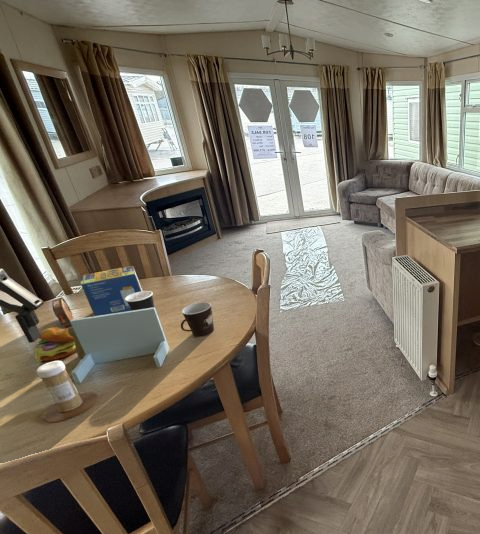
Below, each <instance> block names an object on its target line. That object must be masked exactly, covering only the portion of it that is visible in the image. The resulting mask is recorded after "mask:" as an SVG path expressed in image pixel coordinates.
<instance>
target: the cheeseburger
mask: <svg viewBox="0 0 480 534" xmlns="http://www.w3.org/2000/svg"><path fill="white" fill-rule="evenodd" d="M70 327H71V326H69V327H67V328H64V327H63V328H62V327H57V326H53V327H47V328H45V329H43V330H42V331H41V332H40V333H41V336H40V337H39V338H38V339H39V341H38V344H36V345H35V348H34V359H35V361H36V362H39V363H42V362H46V361H54V360H58V359H62V358H66V357H68V356H70V355H72V354H74V353H75V352H77V350H76V346H75V342H74V338H73V337H72V336H70V335H69V333H68V329H69V328H70Z"/></svg>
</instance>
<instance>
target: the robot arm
mask: <svg viewBox="0 0 480 534" xmlns="http://www.w3.org/2000/svg"><path fill="white" fill-rule="evenodd" d="M44 304H45V301H43V300H42V299H41V298H39V297H37V296H36V295H35V294H33V293H32V292H31V291H29V290H28V289H26V287H23V286H22V285H21V284H19V283H18V282H16V281H15V280H14V279H13V278H11V277H10V276H9V275H8V273H7V272H6V271H5V269H4V268H2V267H0V307H2V308H5V309H7V310H10V311H12V312H13V313H16V315H15V316H14V318H15V319H16V321H17V323H18V325H19V327H20V329H21V331H22V332H23V334H24V336H25V338H26V340H27V341H28V343H35V342H36V341H37V340H38V339H39V337H40V336H41V332H40V330H39V328H38V326H37V325H38V324H39V323H40V319H39V318H38V316H37V314H36V312H35V311H37V310H38V309H39V308H40V307H42V306H43V305H44Z"/></svg>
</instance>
